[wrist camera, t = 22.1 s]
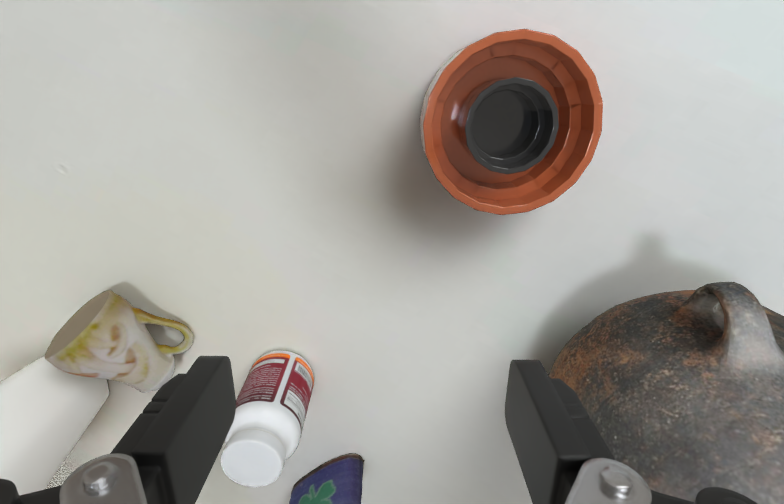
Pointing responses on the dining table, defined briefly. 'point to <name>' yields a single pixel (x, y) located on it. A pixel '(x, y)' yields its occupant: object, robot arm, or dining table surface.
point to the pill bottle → (268, 418)
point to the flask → (331, 483)
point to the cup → (43, 421)
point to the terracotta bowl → (503, 60)
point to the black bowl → (508, 124)
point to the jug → (687, 389)
